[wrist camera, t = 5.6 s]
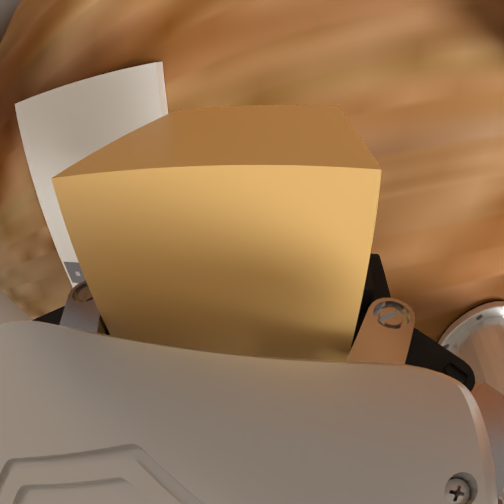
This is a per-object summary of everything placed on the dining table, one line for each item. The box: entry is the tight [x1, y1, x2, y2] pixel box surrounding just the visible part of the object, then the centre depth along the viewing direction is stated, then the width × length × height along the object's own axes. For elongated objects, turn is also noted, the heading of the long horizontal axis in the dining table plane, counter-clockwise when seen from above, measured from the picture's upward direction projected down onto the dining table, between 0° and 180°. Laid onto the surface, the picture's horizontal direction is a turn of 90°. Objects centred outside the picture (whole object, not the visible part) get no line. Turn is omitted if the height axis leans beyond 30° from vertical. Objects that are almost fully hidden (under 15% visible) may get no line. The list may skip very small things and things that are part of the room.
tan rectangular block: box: [51, 105, 381, 361], centre depth 10 cm, size 6×10×7 cm, turn 4°
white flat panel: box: [15, 62, 168, 288], centre depth 29 cm, size 16×28×1 cm, turn 3°
